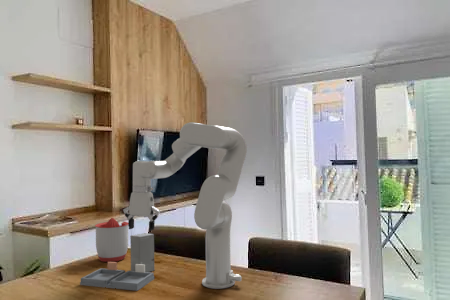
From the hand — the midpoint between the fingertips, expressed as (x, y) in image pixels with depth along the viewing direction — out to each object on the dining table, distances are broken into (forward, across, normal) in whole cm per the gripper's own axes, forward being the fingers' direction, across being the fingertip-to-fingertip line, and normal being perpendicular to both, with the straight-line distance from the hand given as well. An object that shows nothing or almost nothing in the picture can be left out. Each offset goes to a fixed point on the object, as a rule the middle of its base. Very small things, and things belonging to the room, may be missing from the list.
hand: (141, 229), depth 152 cm
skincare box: (+18, -1, 0) cm, 18 cm away
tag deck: (+18, +2, +14) cm, 23 cm away
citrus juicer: (+19, +23, -14) cm, 33 cm away
